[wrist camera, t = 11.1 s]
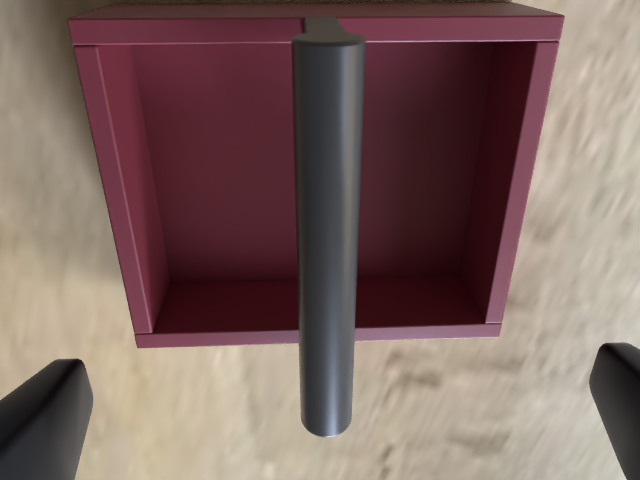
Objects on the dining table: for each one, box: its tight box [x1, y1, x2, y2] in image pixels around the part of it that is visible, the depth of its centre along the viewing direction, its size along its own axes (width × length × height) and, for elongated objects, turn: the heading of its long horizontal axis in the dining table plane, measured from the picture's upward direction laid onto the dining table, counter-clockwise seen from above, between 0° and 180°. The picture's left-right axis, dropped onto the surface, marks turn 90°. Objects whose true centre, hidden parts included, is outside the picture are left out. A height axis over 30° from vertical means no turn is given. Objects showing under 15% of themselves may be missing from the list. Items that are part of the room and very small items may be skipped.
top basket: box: [67, 2, 565, 437], centre depth 15 cm, size 12×10×7 cm
